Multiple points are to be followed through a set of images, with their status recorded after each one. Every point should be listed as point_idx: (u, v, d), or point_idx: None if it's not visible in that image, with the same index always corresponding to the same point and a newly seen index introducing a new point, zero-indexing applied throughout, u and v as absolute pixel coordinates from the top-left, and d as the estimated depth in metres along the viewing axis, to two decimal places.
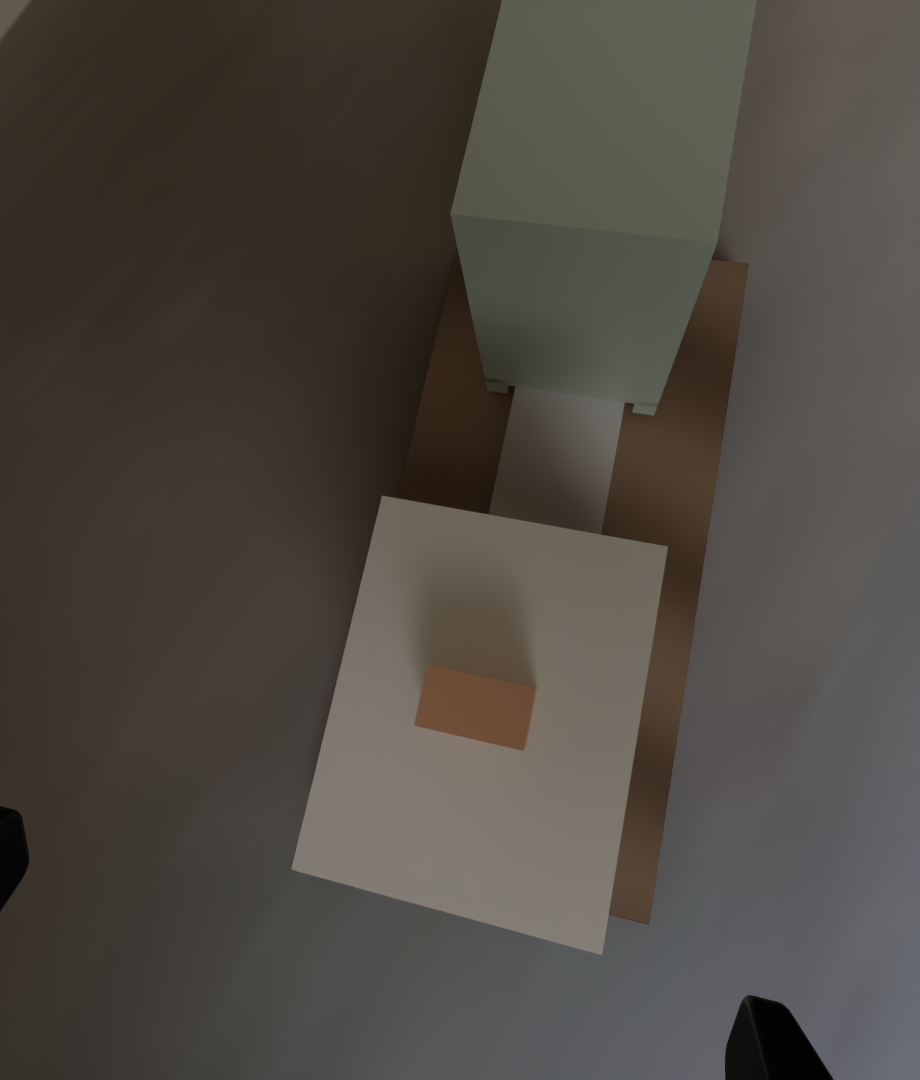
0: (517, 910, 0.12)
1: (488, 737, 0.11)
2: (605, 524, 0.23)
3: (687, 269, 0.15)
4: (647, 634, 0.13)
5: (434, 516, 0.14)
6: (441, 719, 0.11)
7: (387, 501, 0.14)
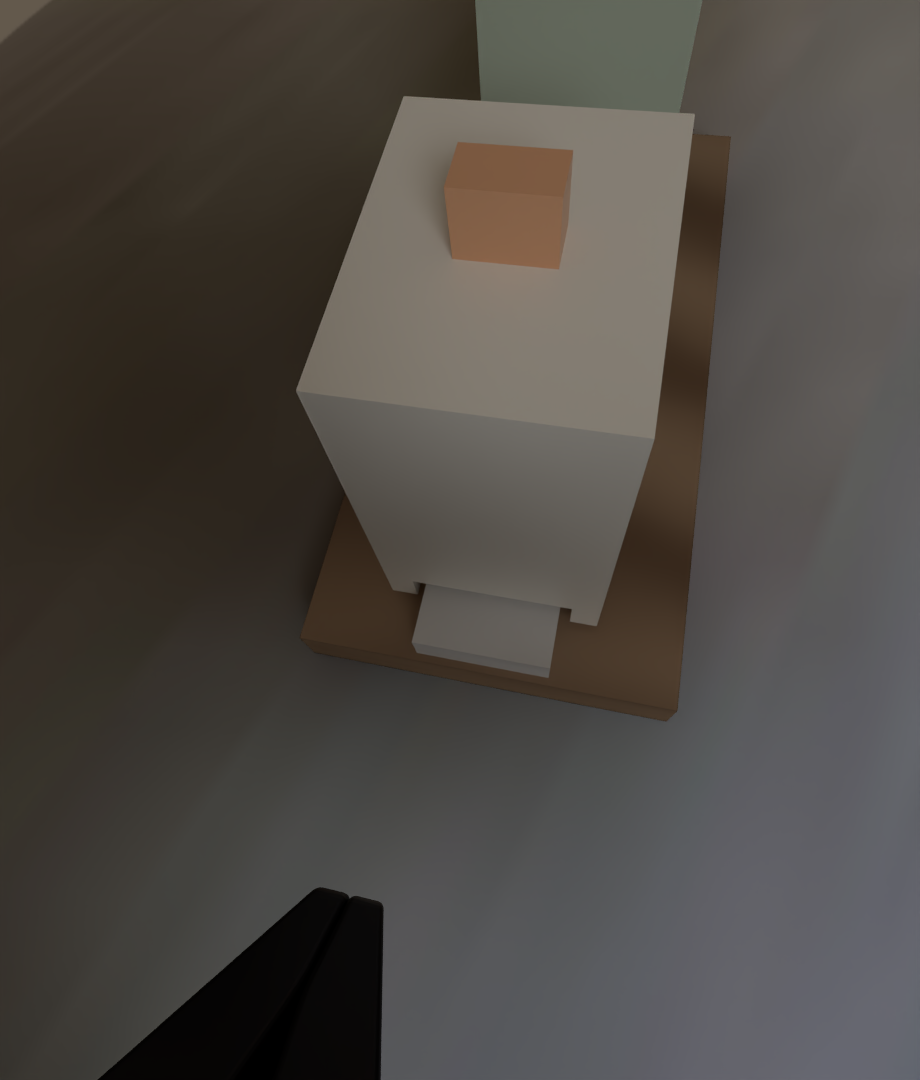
0: (556, 406, 0.11)
1: (525, 189, 0.11)
2: None
3: None
4: (680, 177, 0.12)
5: (457, 107, 0.14)
6: (473, 180, 0.11)
7: (409, 100, 0.14)
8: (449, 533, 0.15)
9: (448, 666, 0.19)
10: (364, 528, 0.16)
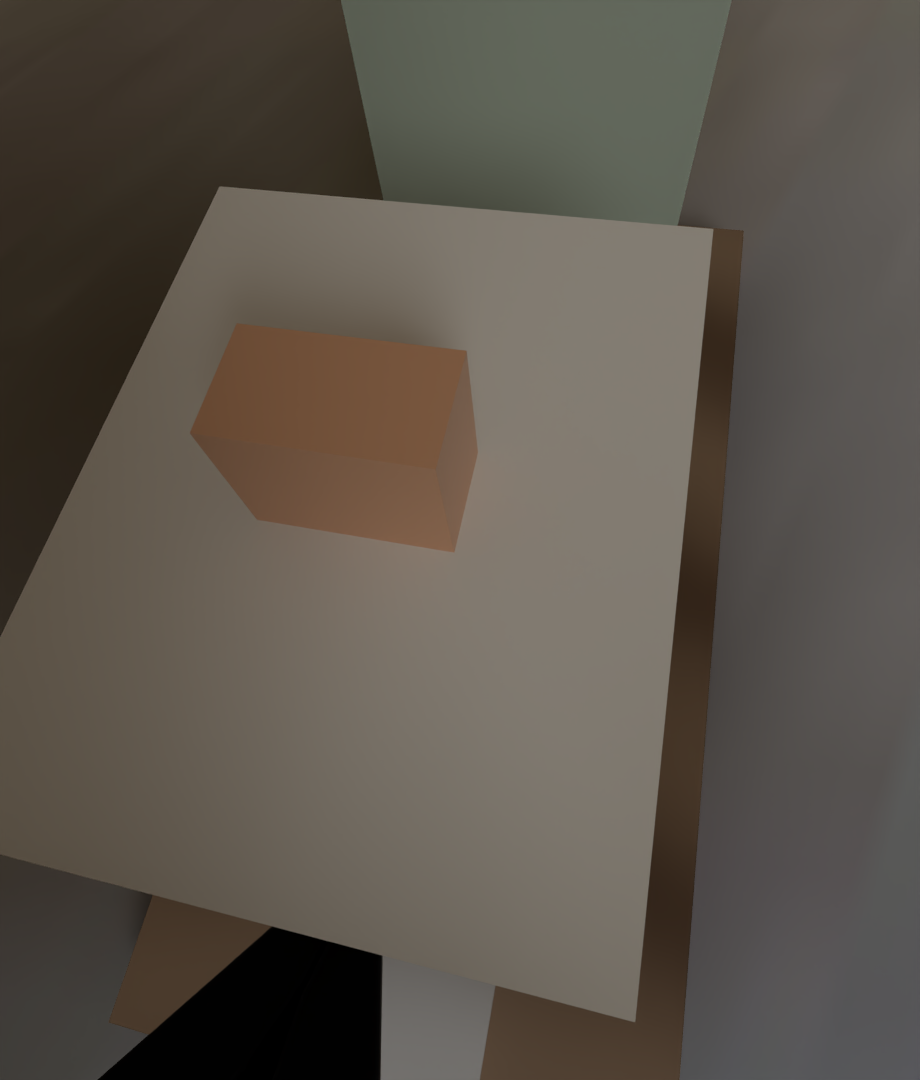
0: (423, 910, 0.05)
1: (357, 445, 0.05)
2: None
3: (690, 48, 0.10)
4: (688, 356, 0.07)
5: (305, 208, 0.08)
6: (253, 418, 0.05)
7: (228, 194, 0.08)
8: None
9: None
10: None
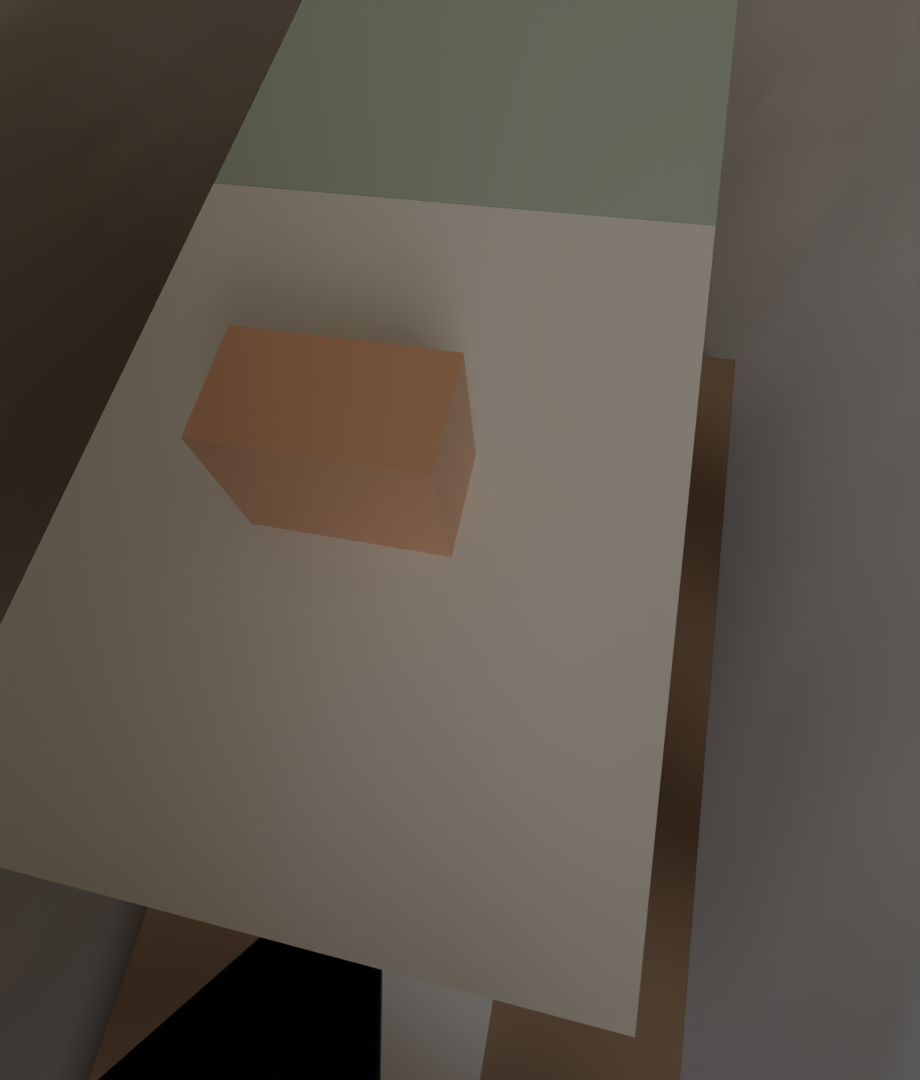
0: (421, 922, 0.05)
1: (351, 452, 0.05)
2: None
3: None
4: (690, 356, 0.07)
5: (300, 205, 0.08)
6: (245, 423, 0.05)
7: (222, 191, 0.08)
8: None
9: None
10: None
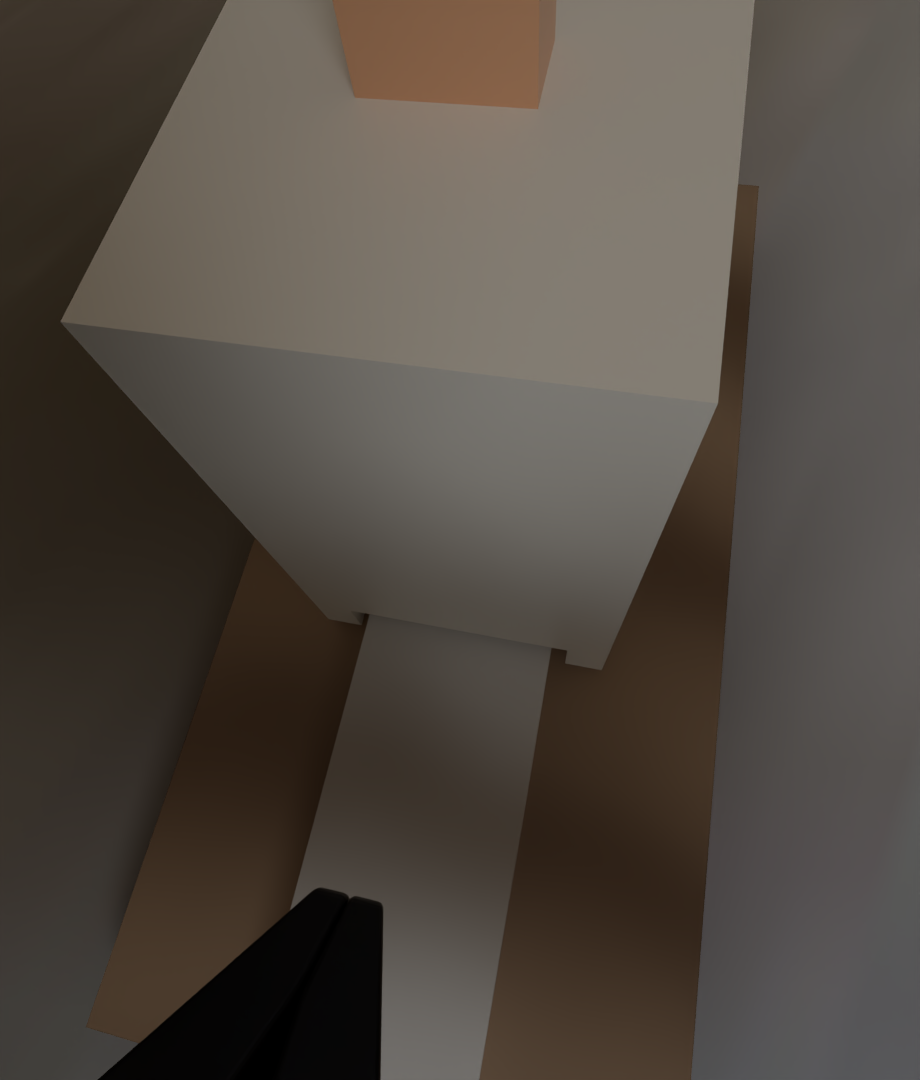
0: (528, 344, 0.06)
1: None
2: None
3: None
4: None
5: None
6: None
7: None
8: (381, 554, 0.10)
9: None
10: (263, 545, 0.11)
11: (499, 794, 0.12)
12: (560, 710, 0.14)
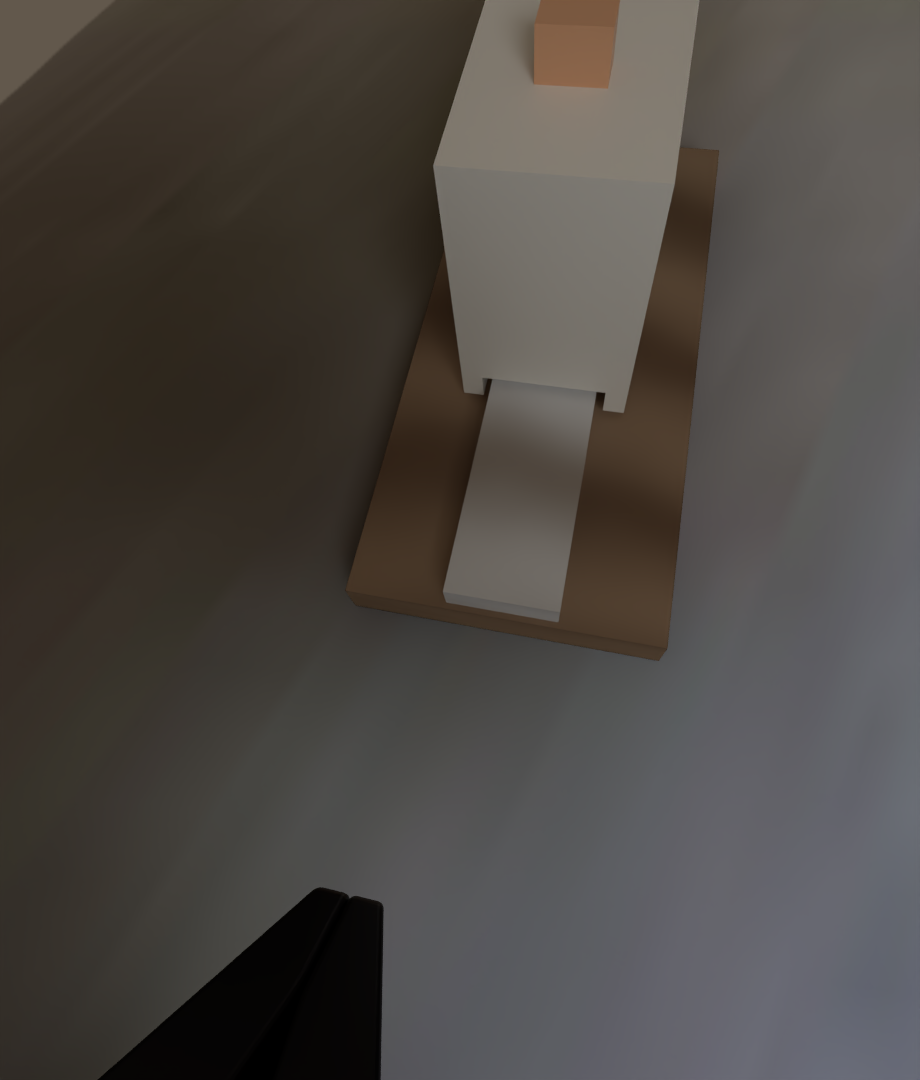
0: (609, 168, 0.16)
1: (589, 23, 0.16)
2: None
3: None
4: (690, 29, 0.18)
5: None
6: (554, 19, 0.16)
7: None
8: (519, 310, 0.20)
9: (473, 613, 0.22)
10: (454, 314, 0.21)
11: (569, 463, 0.22)
12: (600, 436, 0.24)
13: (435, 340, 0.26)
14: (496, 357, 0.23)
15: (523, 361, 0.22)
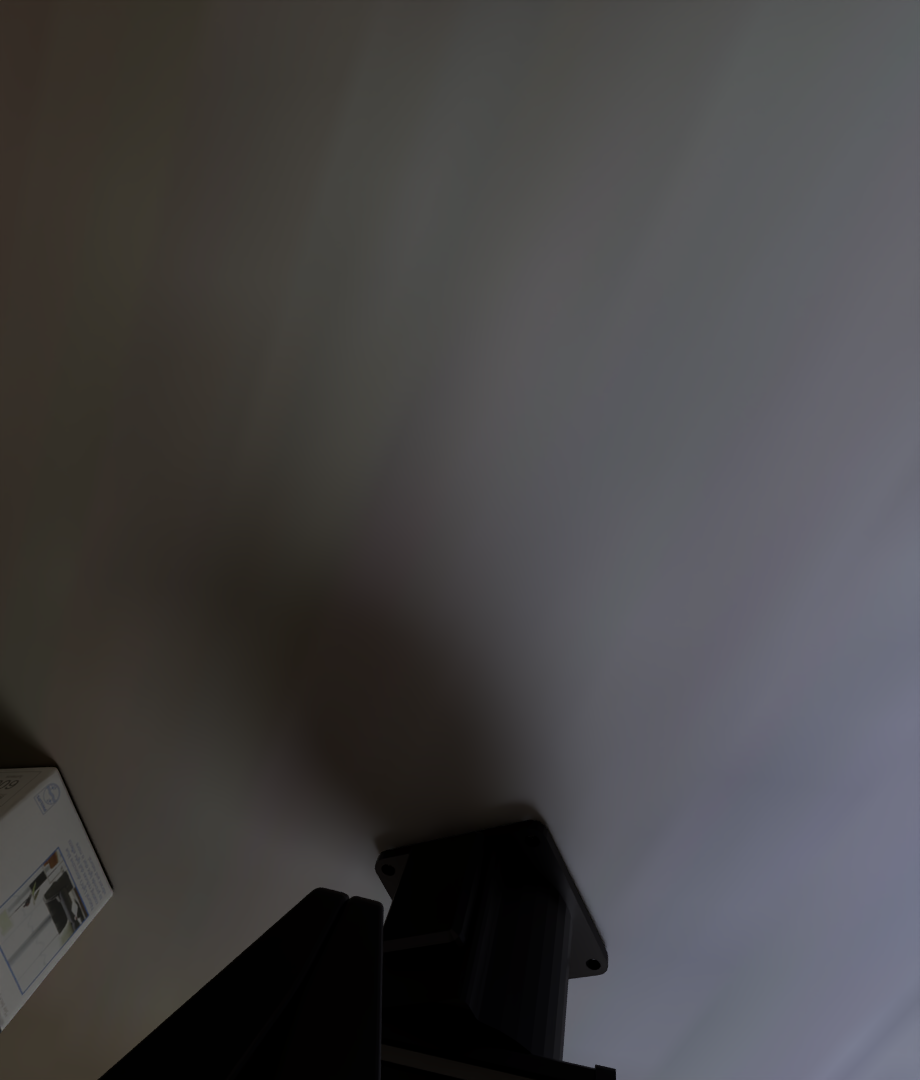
0: None
1: None
2: None
3: None
4: None
5: None
6: None
7: None
8: None
9: None
10: None
11: None
12: None
13: None
14: None
15: None
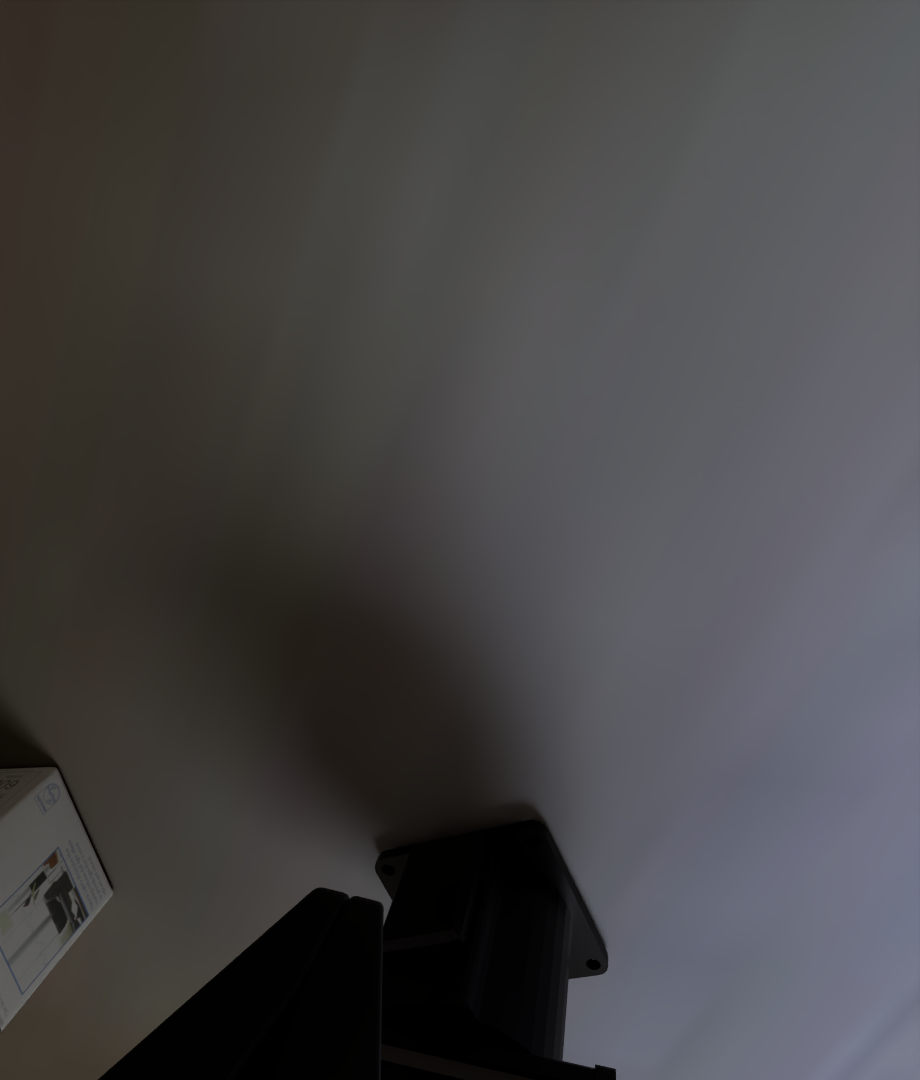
0: None
1: None
2: None
3: None
4: None
5: None
6: None
7: None
8: None
9: None
10: None
11: None
12: None
13: None
14: None
15: None
